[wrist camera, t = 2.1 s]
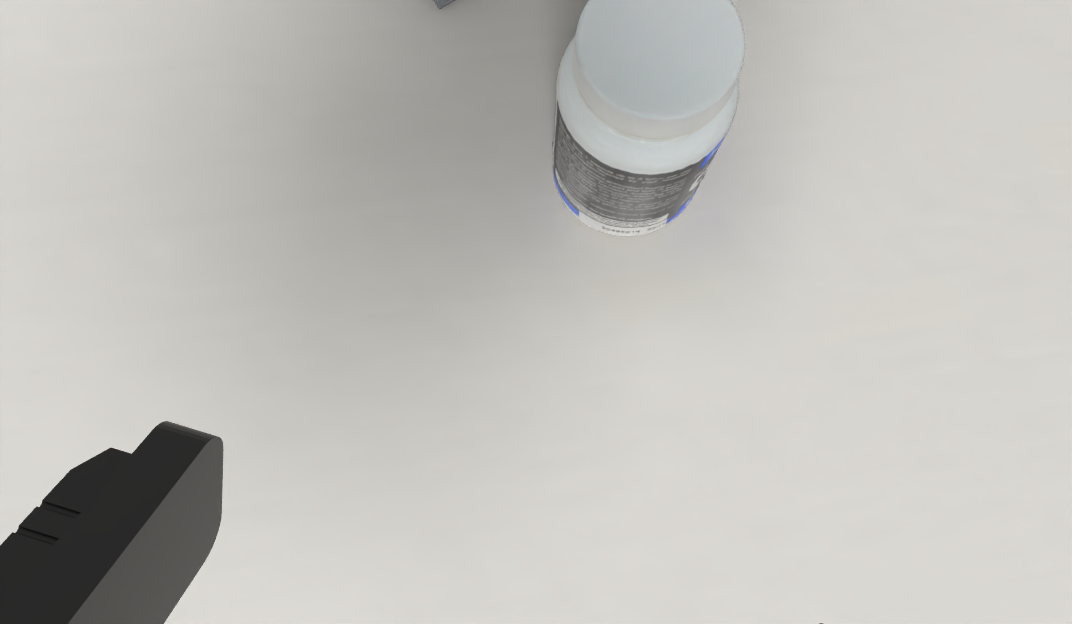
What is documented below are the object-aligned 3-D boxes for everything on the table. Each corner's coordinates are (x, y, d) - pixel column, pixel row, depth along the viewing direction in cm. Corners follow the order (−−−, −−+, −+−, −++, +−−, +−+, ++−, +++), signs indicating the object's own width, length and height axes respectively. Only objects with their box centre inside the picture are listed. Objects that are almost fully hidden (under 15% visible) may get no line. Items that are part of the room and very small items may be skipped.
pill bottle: (703, 235, 29) (773, 132, 21) (555, 242, 29) (565, 140, 21) (691, 96, 30) (753, -57, 22) (548, 102, 30) (554, -49, 21)
